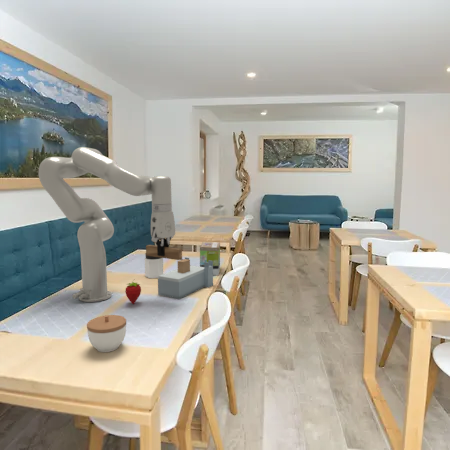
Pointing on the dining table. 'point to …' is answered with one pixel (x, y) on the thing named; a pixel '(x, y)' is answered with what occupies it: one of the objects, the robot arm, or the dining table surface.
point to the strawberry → (133, 291)
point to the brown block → (169, 252)
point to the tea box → (210, 255)
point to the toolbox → (187, 283)
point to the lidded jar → (106, 332)
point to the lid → (182, 272)
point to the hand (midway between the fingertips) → (163, 254)
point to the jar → (153, 266)
